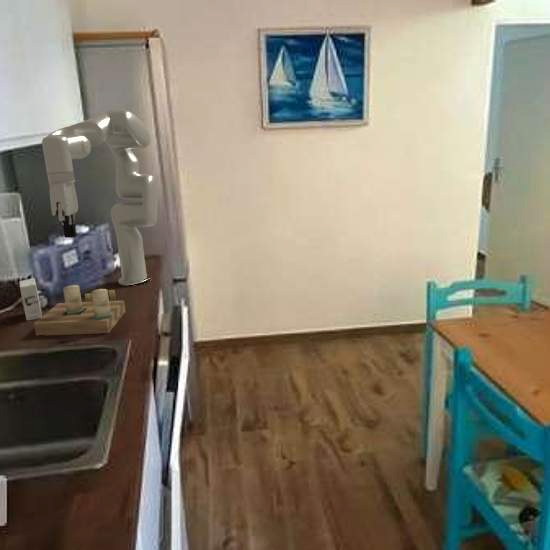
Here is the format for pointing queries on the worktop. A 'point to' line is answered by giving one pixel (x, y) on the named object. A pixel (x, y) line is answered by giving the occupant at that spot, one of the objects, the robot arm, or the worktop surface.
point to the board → (82, 317)
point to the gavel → (110, 293)
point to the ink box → (30, 299)
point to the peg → (73, 300)
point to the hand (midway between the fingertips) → (70, 236)
